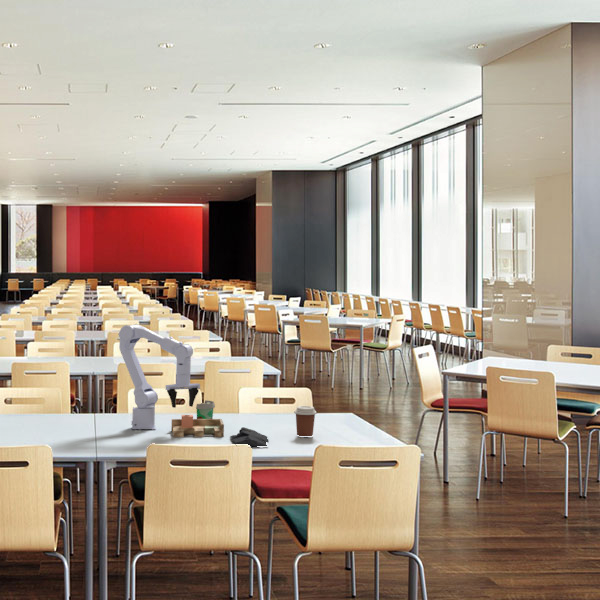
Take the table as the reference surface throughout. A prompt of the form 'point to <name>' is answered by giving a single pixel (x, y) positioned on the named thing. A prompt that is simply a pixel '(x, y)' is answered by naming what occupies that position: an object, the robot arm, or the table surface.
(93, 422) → the table surface
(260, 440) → the dark slate chunk
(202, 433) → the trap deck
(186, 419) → the clay-red block
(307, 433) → the coffee cup
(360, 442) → the table surface
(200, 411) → the food container
